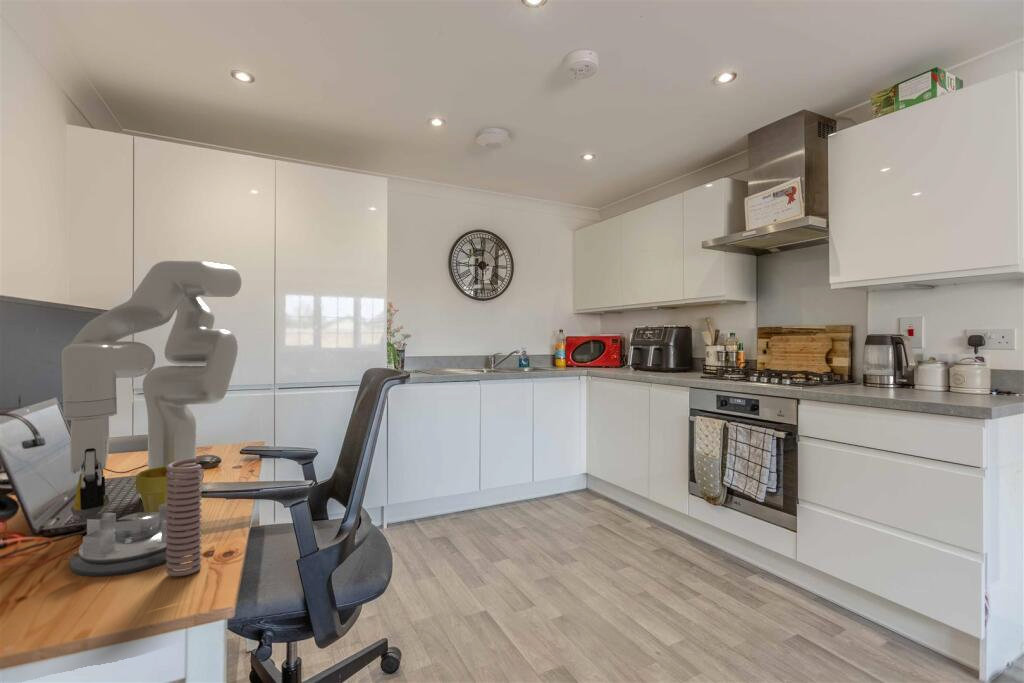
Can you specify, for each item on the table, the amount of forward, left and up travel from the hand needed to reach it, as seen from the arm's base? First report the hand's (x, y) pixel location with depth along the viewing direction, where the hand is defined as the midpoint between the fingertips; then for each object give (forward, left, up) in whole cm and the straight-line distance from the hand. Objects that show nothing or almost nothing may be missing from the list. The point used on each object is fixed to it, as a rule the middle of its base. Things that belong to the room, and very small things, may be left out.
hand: (93, 501), depth 88 cm
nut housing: (+15, +6, -6) cm, 17 cm away
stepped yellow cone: (-1, 0, -4) cm, 4 cm away
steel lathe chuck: (+15, +6, -5) cm, 17 cm away
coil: (+29, +12, -7) cm, 32 cm away
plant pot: (-3, +11, -7) cm, 14 cm away
